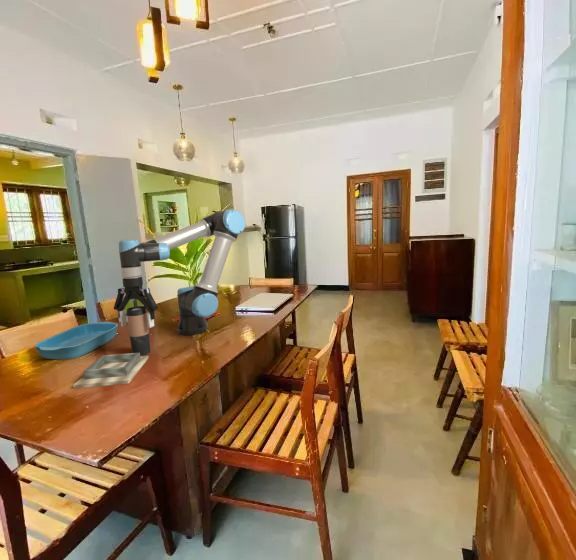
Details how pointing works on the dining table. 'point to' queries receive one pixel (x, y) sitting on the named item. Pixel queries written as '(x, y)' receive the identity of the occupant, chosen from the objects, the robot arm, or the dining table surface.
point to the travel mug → (138, 330)
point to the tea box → (131, 305)
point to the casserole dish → (77, 340)
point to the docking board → (112, 370)
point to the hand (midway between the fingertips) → (137, 326)
